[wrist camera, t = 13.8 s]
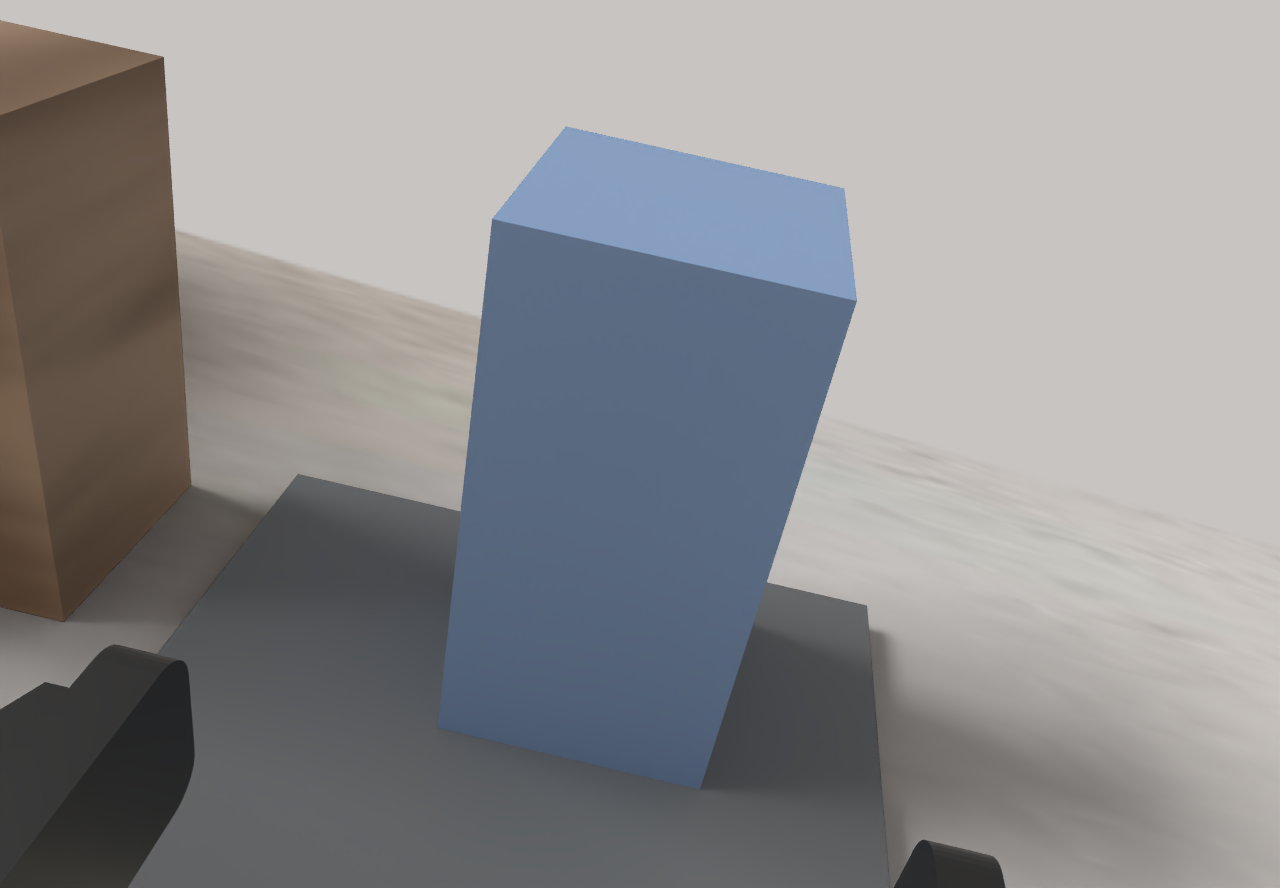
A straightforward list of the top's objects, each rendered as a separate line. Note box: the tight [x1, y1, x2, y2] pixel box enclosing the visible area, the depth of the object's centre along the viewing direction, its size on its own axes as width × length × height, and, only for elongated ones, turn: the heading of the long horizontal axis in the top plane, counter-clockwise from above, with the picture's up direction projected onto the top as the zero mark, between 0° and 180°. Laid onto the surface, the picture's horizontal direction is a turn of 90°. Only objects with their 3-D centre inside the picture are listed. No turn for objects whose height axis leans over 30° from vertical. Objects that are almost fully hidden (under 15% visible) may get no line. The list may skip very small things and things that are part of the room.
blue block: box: [438, 127, 857, 790], centre depth 18 cm, size 5×5×10 cm
